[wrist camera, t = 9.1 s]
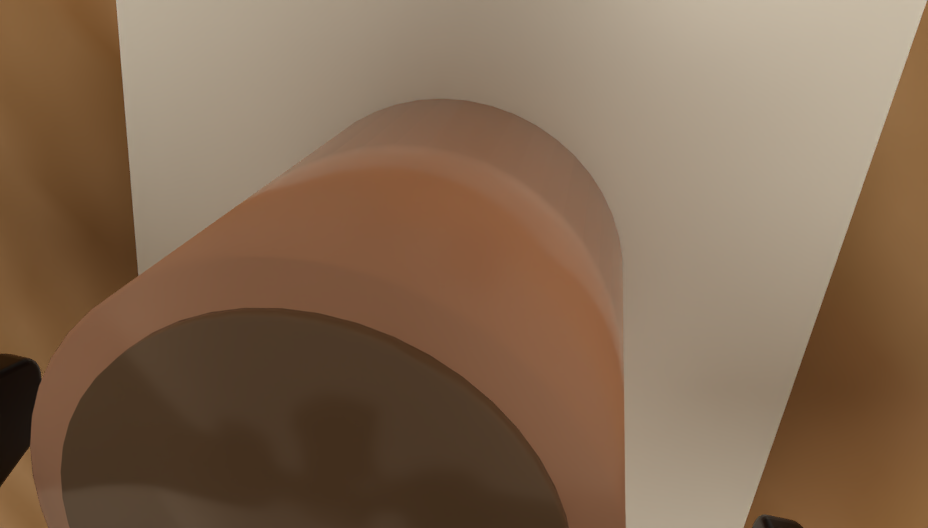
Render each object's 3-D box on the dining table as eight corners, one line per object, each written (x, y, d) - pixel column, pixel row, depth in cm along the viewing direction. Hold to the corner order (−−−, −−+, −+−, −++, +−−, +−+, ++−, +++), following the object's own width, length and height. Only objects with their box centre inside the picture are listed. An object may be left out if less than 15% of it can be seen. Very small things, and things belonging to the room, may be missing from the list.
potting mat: (165, 459, 18) (154, 473, 18) (121, -152, 13) (103, -154, 12) (715, 583, 16) (718, 601, 16) (934, -58, 11) (947, -57, 11)
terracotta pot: (285, 379, 16) (54, 686, 9) (289, 73, 13) (-30, 207, 7) (588, 441, 15) (565, 824, 9) (657, 129, 12) (699, 343, 6)
